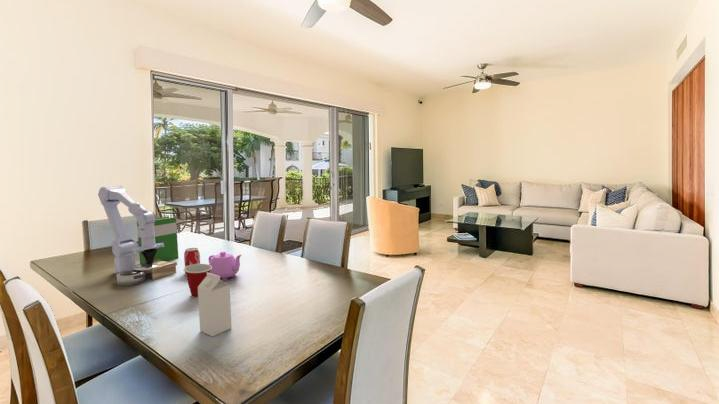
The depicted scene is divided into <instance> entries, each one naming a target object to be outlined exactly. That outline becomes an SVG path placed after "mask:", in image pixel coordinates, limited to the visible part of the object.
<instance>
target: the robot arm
mask: <svg viewBox="0 0 719 404" xmlns="http://www.w3.org/2000/svg"><path fill="white" fill-rule="evenodd" d="M97 196H98V198H99V201H100V204H101V206H103V209H104V211H105V214H106V217H107V220H108V222H109V225H110V228H111V230H112V233H113V236H114V240H113V241H112V242H111V248H112V249H111V251H112V253H113V255H114V259H113V264H114V265H113V266H114V268H113V269H114V271H112V273H113V274H114V275H116V273H117V272H121V271H124V270H133V269H134V267H135V266H136V256H135V255H136V254H139V252H141V253H142V254H143V256H144V257H145V259H146V262H147V263H151V264H153V260H154V256H155V254H156V252H157V249H155V248H160V247H164V243H157V244H155V231H154V223H155V222H156V219H157V218H158V217H157V214H156V213H155V212H154V211H152V210H151V211H150V210H147V209H146V208H145V207H144V206H143V205H142V204H141V203H140V202H135V201H134V200H133V199H132V198H131V197H130V196H129V195H128V194H127V190H126V188H124V187H123V186H122V185H118V186H102V187H100V188H99V191H98V194H97ZM120 203H122V204H124V206H126V207H127V208H128V212H129V213H130V214H132V216H133V217H134V218H136V224H137V223H138V224H139V228H140V229H141V243H142V246H141V247H139V244H138V243H137V241H136V240H135V237H134V236H131V235H129V234H128V232H127V229H126V226H125V223H124V221H123V219H122V217H121V214H120V211H119V209H118V205H119V204H120Z"/></svg>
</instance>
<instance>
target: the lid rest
mask: <svg viewBox="0 0 719 404" xmlns="http://www.w3.org/2000/svg"><path fill="white" fill-rule="evenodd" d="M153 263H158V264H159V267H158V268H154V269H151V270H145V274H146V275H148V274H151V280H156V279H159V278H163V277H166V276H169V275H172V274H175V273H177V266H178V262H177V261H176V262H171V261H161V260H160V259H159V260H156V261H153ZM138 265H139V264H138ZM138 265H137V264H136V266H138Z"/></svg>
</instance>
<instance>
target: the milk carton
mask: <svg viewBox="0 0 719 404" xmlns="http://www.w3.org/2000/svg"><path fill="white" fill-rule="evenodd" d="M230 287H231V285H230V284H229V283H227V282H226V281H222V279H221V278H220V276H217V275H214V274H211V273H208V272H207V276H206V277H205V279H204V280H203V281H202V282H201V284H200V285H199V286H198V297H197V300H198V301H197V302H198V317H199V331H200V332H201V333H204V334H206V335H208V336H210V337H211V338H212V337H215V336H217V335H220V334H222V333H223V332H226V331H228V330H230V329H232V328H233V326H232V324H233V323H232V310H231V309H232V308H231V307H232V306H231V304H232V303H231V288H230Z"/></svg>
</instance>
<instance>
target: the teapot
mask: <svg viewBox="0 0 719 404" xmlns="http://www.w3.org/2000/svg"><path fill="white" fill-rule="evenodd" d="M241 256H242V254H238V255H237V256H236V257H235V256H234V255H233V253H227V252H226V251H221V252H219V254H216V255H214V254H212V255H210V256H209V257H208V265H211V266H212V269H211V270H210V273H211V274H214V275H217V276H220V279H221V280H222V281H223V282H226V281H228V278H230V277H231V278H233V277H234V278H235V277H237V275H236V274H237V273H239V271H240V266H241V263H240V258H241Z"/></svg>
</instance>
